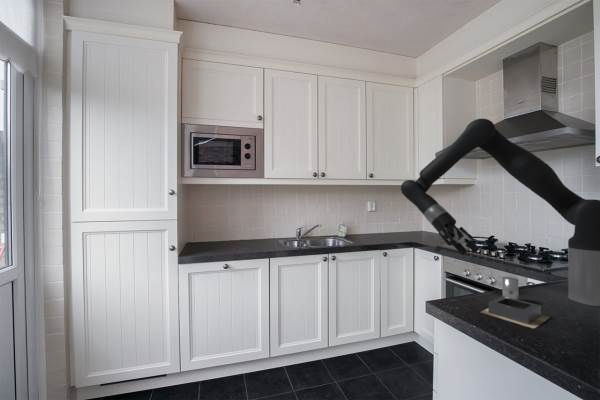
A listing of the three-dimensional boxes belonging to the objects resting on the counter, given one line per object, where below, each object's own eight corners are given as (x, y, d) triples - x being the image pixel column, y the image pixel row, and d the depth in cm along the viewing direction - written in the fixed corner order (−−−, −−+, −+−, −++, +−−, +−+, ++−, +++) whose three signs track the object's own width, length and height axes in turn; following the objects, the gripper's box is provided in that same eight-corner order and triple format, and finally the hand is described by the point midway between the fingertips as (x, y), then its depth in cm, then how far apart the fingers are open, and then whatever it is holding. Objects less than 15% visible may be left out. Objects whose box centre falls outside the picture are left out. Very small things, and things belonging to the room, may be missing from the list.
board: (498, 306, 83) (498, 303, 83) (550, 321, 73) (550, 317, 73) (480, 315, 77) (480, 312, 77) (534, 332, 67) (534, 328, 67)
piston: (505, 300, 88) (505, 276, 88) (520, 304, 85) (520, 279, 85) (500, 303, 86) (500, 277, 86) (515, 307, 83) (515, 281, 83)
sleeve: (502, 305, 81) (502, 295, 81) (540, 316, 74) (540, 305, 74) (488, 312, 76) (488, 301, 76) (528, 324, 69) (528, 312, 69)
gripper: (435, 211, 99) (469, 247, 89) (455, 211, 107) (489, 244, 97) (422, 225, 103) (453, 260, 94) (442, 223, 111) (473, 256, 101)
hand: (471, 252), depth 95 cm, fingers open, 8 cm apart
